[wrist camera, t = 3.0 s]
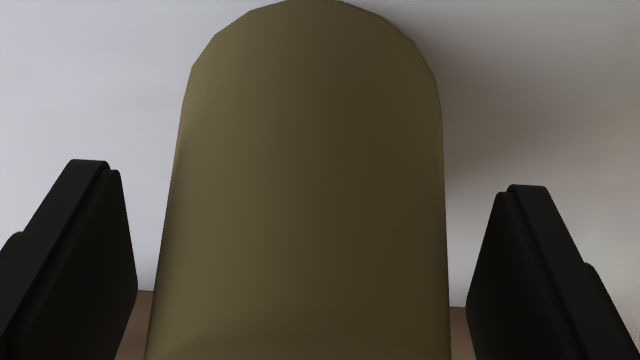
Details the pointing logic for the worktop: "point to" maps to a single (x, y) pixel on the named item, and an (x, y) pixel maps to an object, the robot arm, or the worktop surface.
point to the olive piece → (305, 196)
